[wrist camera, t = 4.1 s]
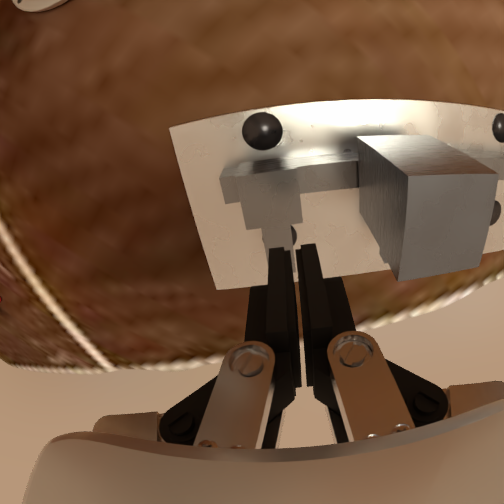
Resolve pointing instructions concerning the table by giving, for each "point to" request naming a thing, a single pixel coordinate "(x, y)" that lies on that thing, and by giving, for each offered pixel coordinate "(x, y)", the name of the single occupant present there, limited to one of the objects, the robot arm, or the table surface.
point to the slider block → (424, 203)
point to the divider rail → (299, 188)
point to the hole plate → (317, 203)
